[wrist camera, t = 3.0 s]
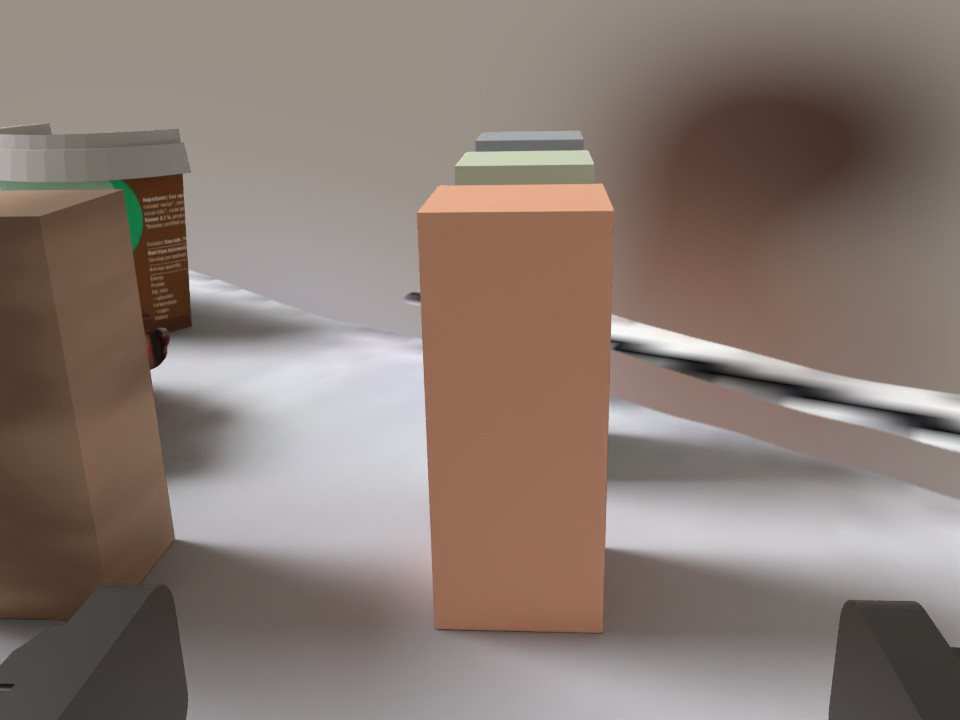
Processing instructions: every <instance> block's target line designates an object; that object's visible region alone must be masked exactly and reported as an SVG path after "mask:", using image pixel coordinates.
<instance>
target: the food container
mask: <svg viewBox="0 0 960 720" xmlns="http://www.w3.org/2000/svg"><path fill="white" fill-rule="evenodd" d="M190 172H191V171H190V166H189V162H188V158H187V154H186V150H185V146H184V143H181V141H180V135H179V129H168V130H154V131H138V132H137V131H136V132H118V133H98V134H68V135H52V133H51V129H50V124H49V123H48V124H33V125H22V126H12V127H5V128H0V187H1V191H23V190H104V189H123V191H124V197H125V204H126V211H127V218H128V224H129V231H130V238H131V245H132V252H133V258H134V265H135V272H136V279H137V285H138V292H139V299H140V306H141V308H142V309H143V310H145V311H146V312H147V313H148V314H149V316H150V317H142V319H143V326H144V329H146V330H149V331H155V330H156V329H157V328H165V329H167V330H168V332H169V331H174V330H178V329H182V328H185V327H189V326H192V324H191V307H190V291H189V274H188V258H187V243H186V225H185V209H184V193H183V175H182V174H183V173H190Z"/></svg>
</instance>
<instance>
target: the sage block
mask: <svg viewBox="0 0 960 720" xmlns="http://www.w3.org/2000/svg"><path fill="white" fill-rule="evenodd" d="M543 184H594V163H593V160H592V158H591V156H590V154H589V151H588V150H572V151H500V152H466V153H465V154H464V156H463V157H462V158H461V159H460V161H459V162H458V163H457V164H456V166H455V185H543Z"/></svg>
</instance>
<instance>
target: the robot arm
mask: <svg viewBox="0 0 960 720" xmlns="http://www.w3.org/2000/svg"><path fill="white" fill-rule="evenodd" d="M187 706H188V692H187V684H186V677H185V671H184V664H183V658H182V651H181V644H180V638H179V631H178V625H177V618H176V611H175V605H174V600H173V596H172V594H171V592H170V590H169V589H168V587H166V586H164V585H131V584H103V585H101V586H99V587H98V588H97V589H96V590H95V591H94V592H93V593H92V594H91V595H90V597H89V598H88V599H87V600H86V601H85V602H84V604H83V605H82V606H81V607H80V608H79V610H78V611H77V612H76V613H75V614H74V615H73V617H72V618H71V619H70V620H69V621H68V622H67V624H66V625H53V626H52V627H50V628H48V629H47V630H45V631H44V632H42V633H41V634H39V635H38V636H36V637H35V638H33V639H32V640H30V641H28V642H27V643H25V644H24V645H22V646H21V647H19V648H18V649H16V650H15V651H13V652H12V653H11V654H10V655H9V657H8V658H7V659H6V660H5V661H4V662H3V663H2V664H1V665H0V720H186V716H187ZM829 720H960V648H954V647H950V646H949V645H948V643H947V642H946V640H945V639H944V637H943V636H942V635H941V633H940V632H939V630H938V629H937V627H936V626H935V624H934V623H933V621H932V620H931V618H930V617H929V616H928V614H927V613H926V611H925V610H924V608H923V607H922V606H921V605H920V604H919V603H917V602H915V601H869V600H848V601H847V602H846V603H845V604H844V606H843V608H842V611H841V616H840V622H839V631H838V639H837V647H836V656H835V664H834V672H833V680H832V689H831V697H830V705H829Z"/></svg>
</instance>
